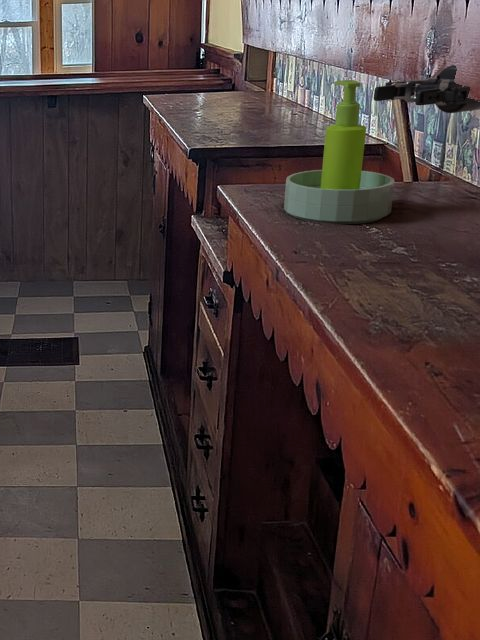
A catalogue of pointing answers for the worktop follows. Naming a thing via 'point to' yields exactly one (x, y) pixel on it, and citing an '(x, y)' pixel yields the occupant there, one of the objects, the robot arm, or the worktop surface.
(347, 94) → the soap dispenser
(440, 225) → the worktop surface
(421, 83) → the robot arm
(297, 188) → the bowl
